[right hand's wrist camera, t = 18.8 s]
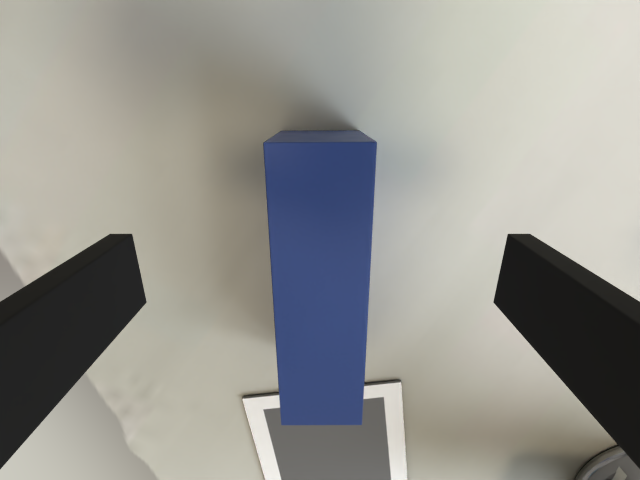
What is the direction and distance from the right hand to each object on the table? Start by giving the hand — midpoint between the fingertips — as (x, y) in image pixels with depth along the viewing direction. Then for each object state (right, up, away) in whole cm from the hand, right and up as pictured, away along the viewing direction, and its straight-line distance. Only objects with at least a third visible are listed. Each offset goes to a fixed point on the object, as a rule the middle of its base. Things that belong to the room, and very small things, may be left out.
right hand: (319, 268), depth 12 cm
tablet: (+2, -32, +37) cm, 50 cm away
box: (0, 0, +25) cm, 25 cm away
